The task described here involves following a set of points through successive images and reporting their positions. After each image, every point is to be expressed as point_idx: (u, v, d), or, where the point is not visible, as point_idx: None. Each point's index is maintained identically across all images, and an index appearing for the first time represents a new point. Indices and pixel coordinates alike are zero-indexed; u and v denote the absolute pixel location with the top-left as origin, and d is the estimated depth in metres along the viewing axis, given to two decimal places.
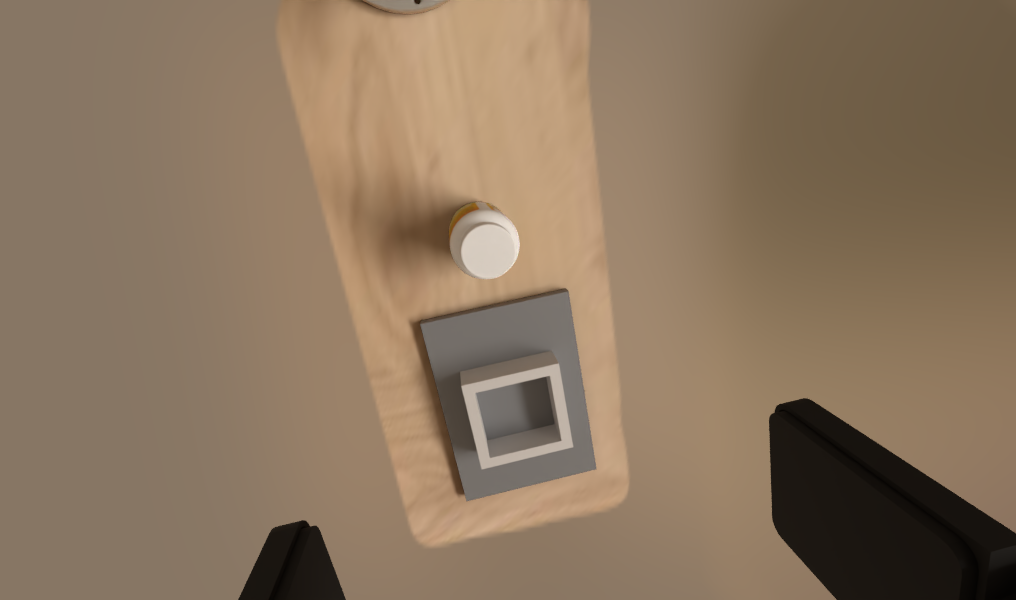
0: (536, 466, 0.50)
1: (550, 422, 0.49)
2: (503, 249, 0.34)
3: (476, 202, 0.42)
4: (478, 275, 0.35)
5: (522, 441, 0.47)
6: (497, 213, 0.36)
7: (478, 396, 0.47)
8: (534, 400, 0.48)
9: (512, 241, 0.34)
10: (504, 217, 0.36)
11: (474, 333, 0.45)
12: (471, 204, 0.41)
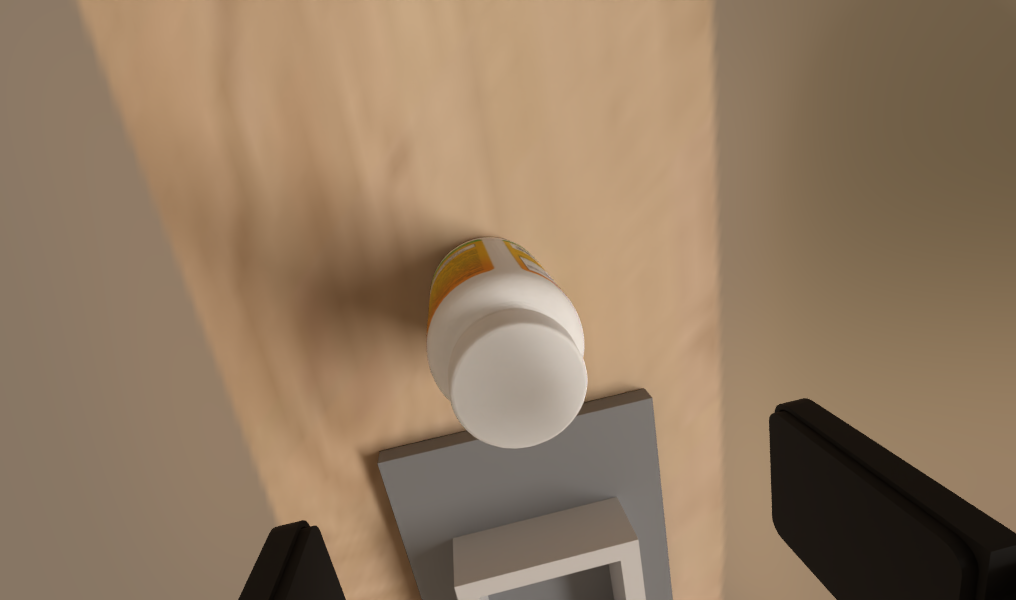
0: None
1: None
2: (558, 382, 0.14)
3: (484, 239, 0.21)
4: (494, 442, 0.14)
5: None
6: (537, 281, 0.16)
7: None
8: (583, 576, 0.27)
9: (580, 362, 0.14)
10: (553, 289, 0.16)
11: (479, 475, 0.25)
12: (474, 245, 0.20)
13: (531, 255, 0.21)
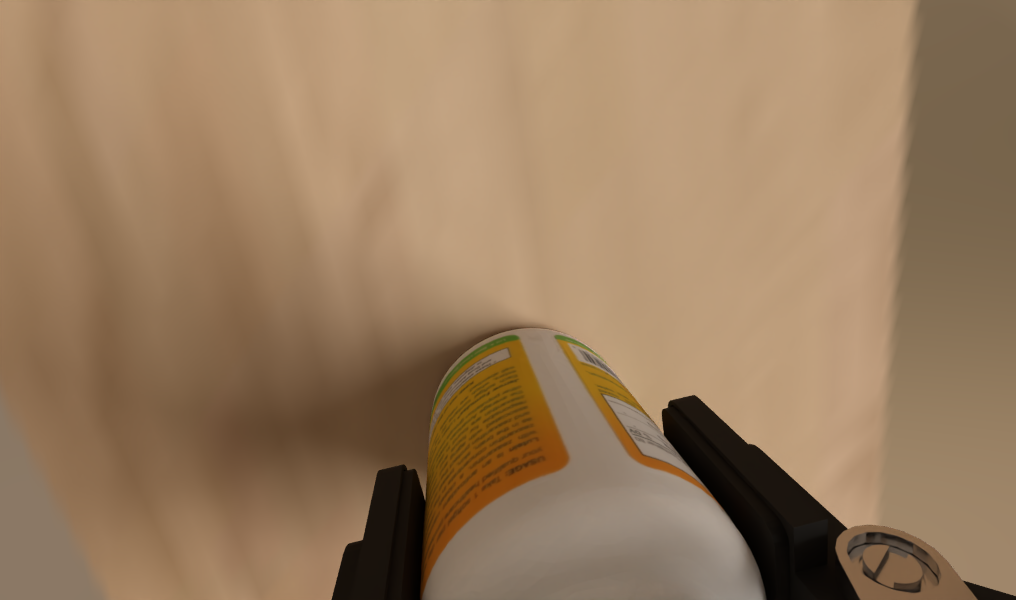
0: None
1: None
2: None
3: (523, 335, 0.12)
4: None
5: None
6: (676, 504, 0.07)
7: None
8: None
9: None
10: (712, 521, 0.07)
11: None
12: (509, 352, 0.11)
13: (605, 364, 0.12)
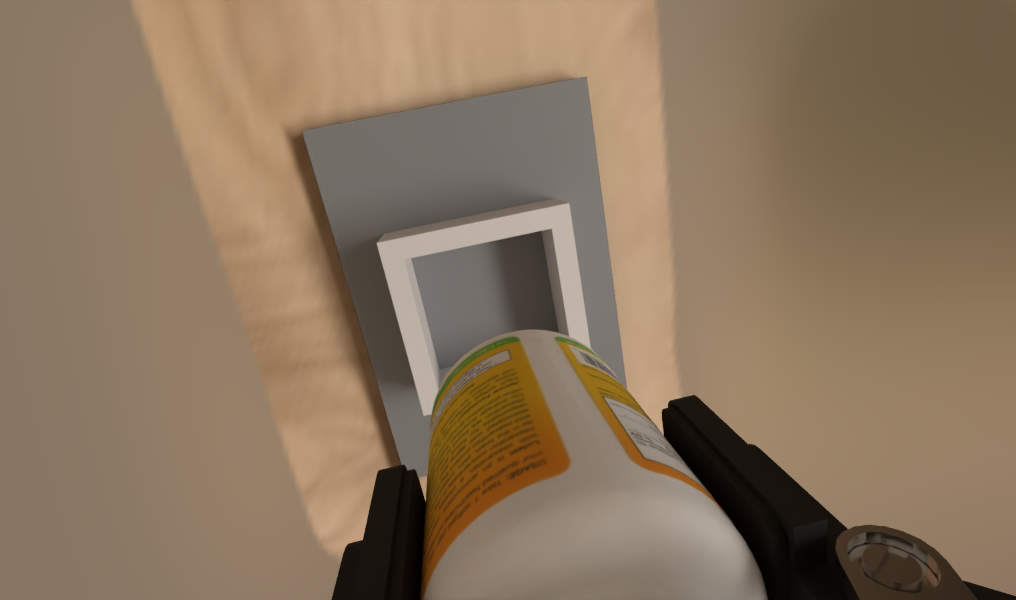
0: None
1: None
2: None
3: (524, 337, 0.12)
4: None
5: None
6: (678, 508, 0.07)
7: (420, 284, 0.26)
8: (524, 295, 0.27)
9: None
10: (714, 526, 0.07)
11: (409, 155, 0.24)
12: (510, 354, 0.11)
13: (606, 366, 0.12)
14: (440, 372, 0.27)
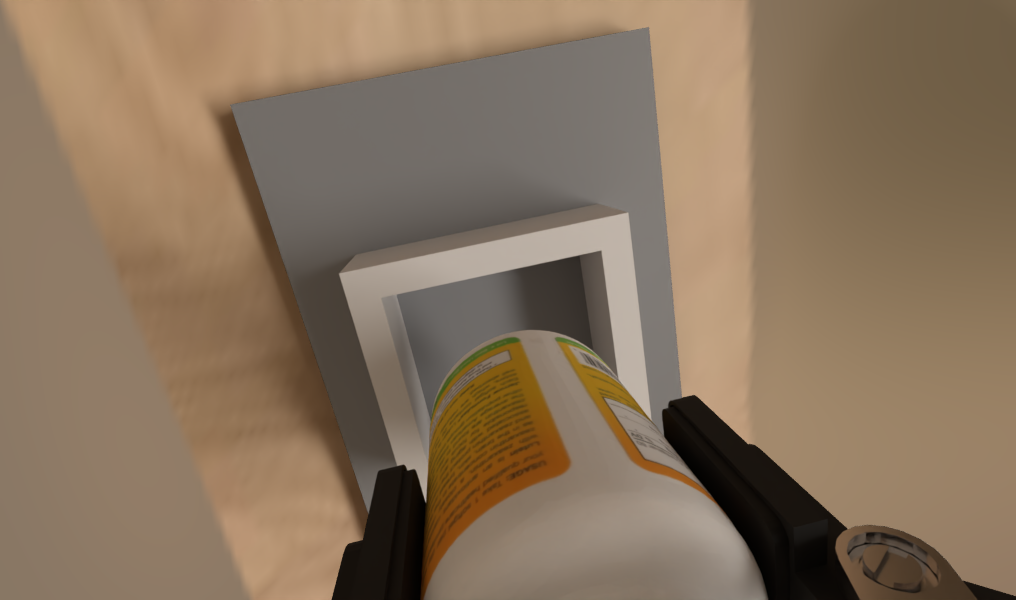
0: None
1: None
2: None
3: (524, 337, 0.12)
4: None
5: None
6: (679, 509, 0.07)
7: (409, 324, 0.18)
8: None
9: None
10: (714, 527, 0.07)
11: (390, 142, 0.16)
12: (510, 355, 0.11)
13: (606, 366, 0.12)
14: None
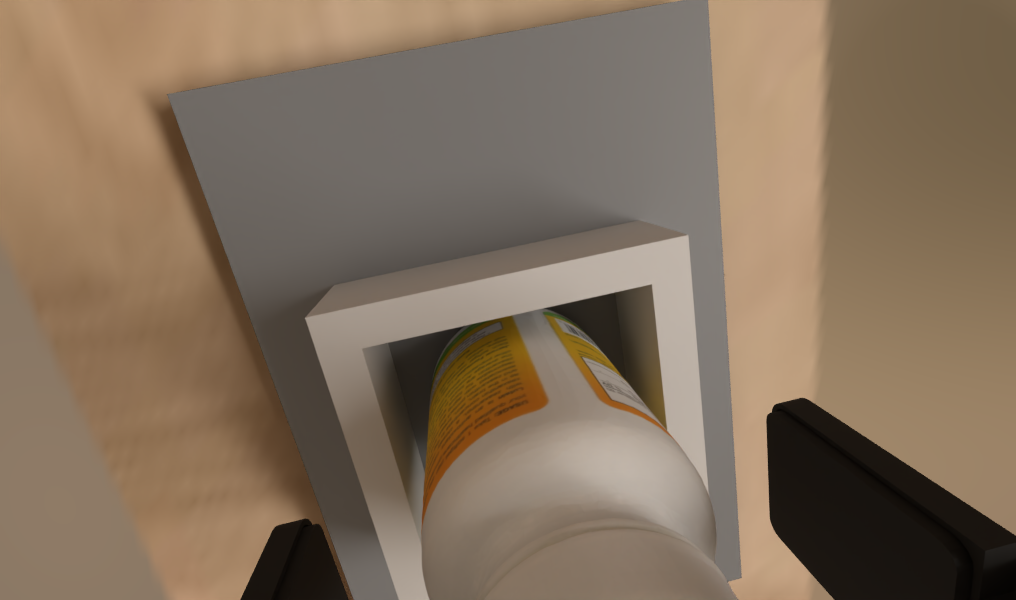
0: None
1: None
2: None
3: None
4: None
5: None
6: (636, 434, 0.08)
7: (401, 371, 0.15)
8: None
9: None
10: (666, 450, 0.08)
11: (376, 143, 0.13)
12: (501, 325, 0.13)
13: (588, 337, 0.13)
14: None
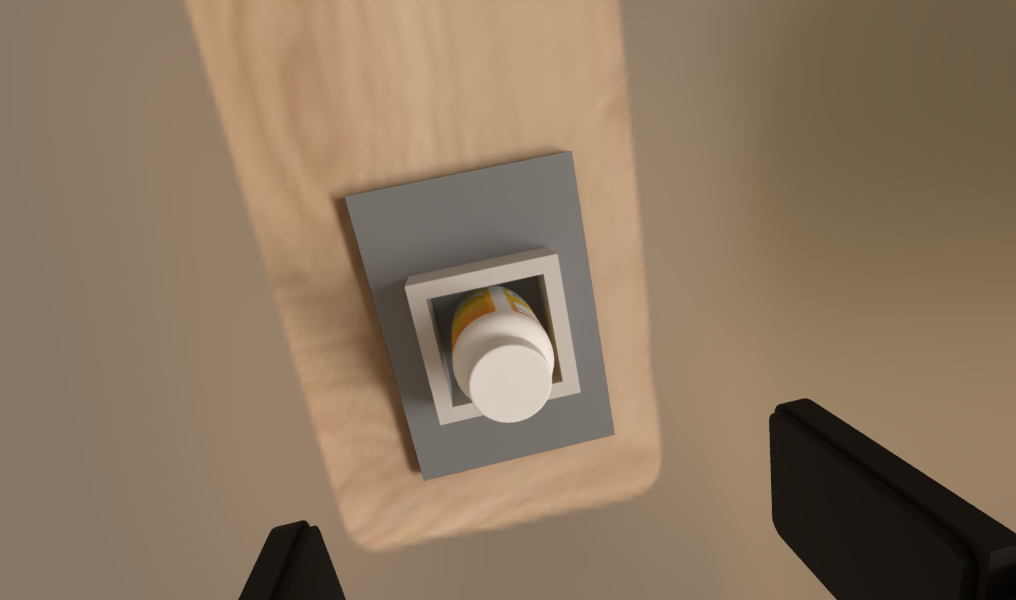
0: (527, 428, 0.34)
1: None
2: (533, 380, 0.23)
3: (489, 287, 0.30)
4: (495, 418, 0.23)
5: None
6: (522, 318, 0.25)
7: (437, 316, 0.31)
8: None
9: (547, 368, 0.23)
10: (532, 324, 0.25)
11: (429, 214, 0.30)
12: (483, 292, 0.29)
13: (522, 299, 0.30)
14: (453, 389, 0.32)
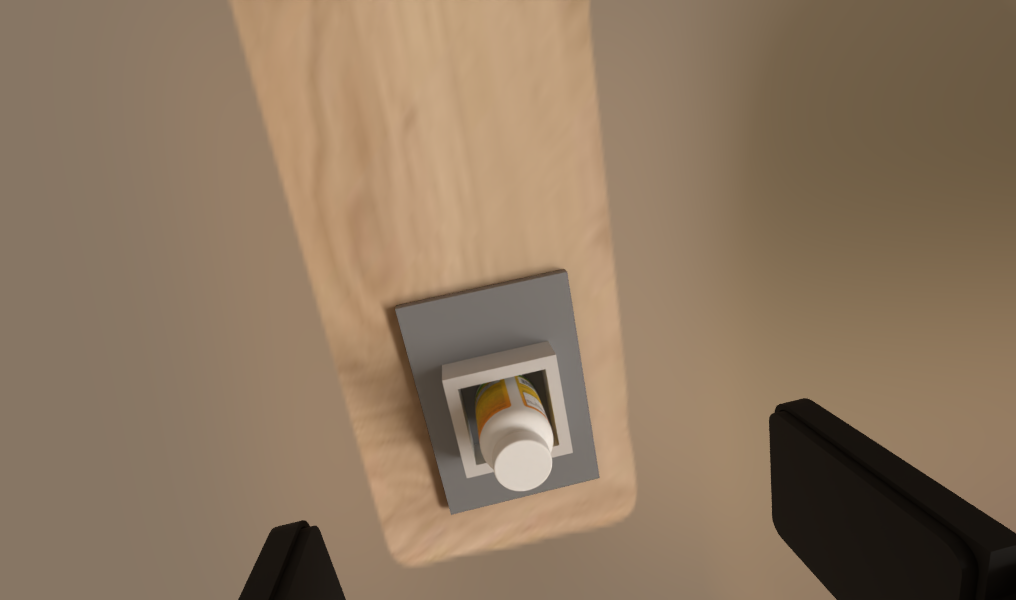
0: None
1: None
2: (539, 463, 0.32)
3: None
4: (512, 488, 0.33)
5: None
6: (531, 413, 0.34)
7: (463, 393, 0.41)
8: None
9: (549, 455, 0.32)
10: (538, 417, 0.34)
11: (458, 320, 0.39)
12: (499, 380, 0.39)
13: (529, 383, 0.40)
14: (475, 447, 0.42)
